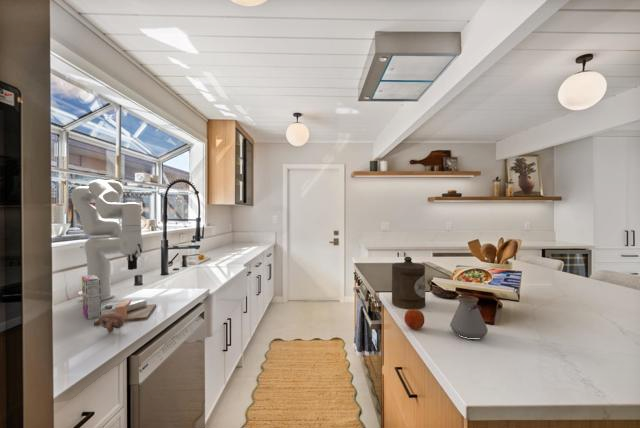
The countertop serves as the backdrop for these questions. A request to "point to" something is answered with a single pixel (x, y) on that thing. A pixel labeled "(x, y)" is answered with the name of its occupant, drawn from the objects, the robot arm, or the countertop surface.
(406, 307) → the wooden container
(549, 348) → the countertop surface
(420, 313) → the fruit
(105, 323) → the mushroom
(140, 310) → the board
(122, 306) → the keeper
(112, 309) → the link
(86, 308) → the candy bar box
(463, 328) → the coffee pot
